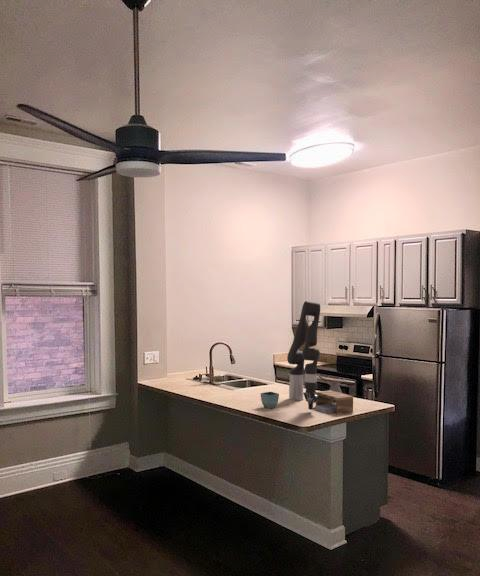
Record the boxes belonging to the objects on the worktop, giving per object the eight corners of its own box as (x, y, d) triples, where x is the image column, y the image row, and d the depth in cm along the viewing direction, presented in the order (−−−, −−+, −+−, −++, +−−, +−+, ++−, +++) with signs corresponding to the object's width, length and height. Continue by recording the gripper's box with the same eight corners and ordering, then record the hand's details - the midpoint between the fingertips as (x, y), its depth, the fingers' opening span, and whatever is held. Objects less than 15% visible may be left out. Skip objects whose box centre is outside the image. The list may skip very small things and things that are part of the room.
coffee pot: (347, 401, 339) (347, 379, 339) (335, 403, 332) (335, 380, 332) (323, 396, 356) (324, 375, 356) (312, 398, 349) (312, 376, 349)
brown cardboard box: (315, 406, 321) (315, 391, 321) (330, 404, 327) (330, 390, 327) (337, 413, 302) (337, 397, 302) (353, 411, 307) (353, 396, 308)
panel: (315, 410, 313) (315, 405, 313) (335, 407, 320) (335, 403, 320) (325, 413, 304) (325, 408, 304) (345, 411, 311) (345, 406, 311)
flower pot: (268, 409, 312) (268, 395, 312) (259, 407, 319) (260, 393, 319) (279, 407, 317) (279, 393, 317) (270, 405, 324) (270, 391, 324)
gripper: (299, 379, 311) (299, 407, 310) (312, 383, 299) (312, 412, 299) (309, 378, 314) (309, 406, 314) (322, 382, 302) (322, 410, 302)
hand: (310, 409), depth 306 cm, fingers closed
